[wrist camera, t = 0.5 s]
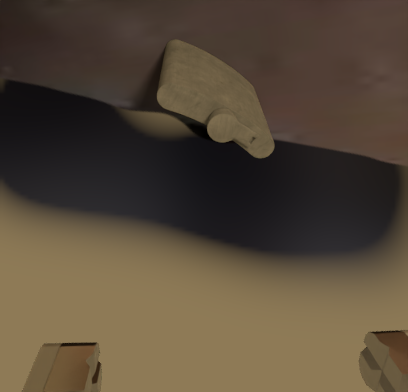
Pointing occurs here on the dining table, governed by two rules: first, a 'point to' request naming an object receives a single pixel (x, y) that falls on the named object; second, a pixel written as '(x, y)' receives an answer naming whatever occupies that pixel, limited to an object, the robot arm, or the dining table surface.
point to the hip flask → (213, 97)
